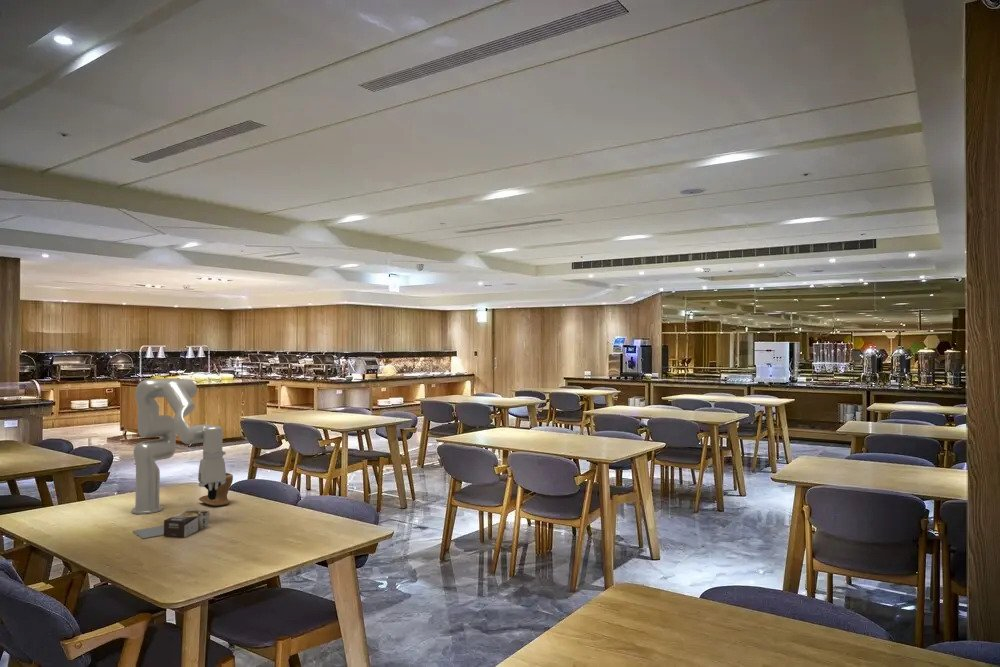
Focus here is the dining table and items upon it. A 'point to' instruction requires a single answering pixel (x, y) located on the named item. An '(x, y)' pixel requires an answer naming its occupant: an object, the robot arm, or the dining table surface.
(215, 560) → the dining table surface
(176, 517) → the coffee box
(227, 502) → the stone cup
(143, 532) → the mat
